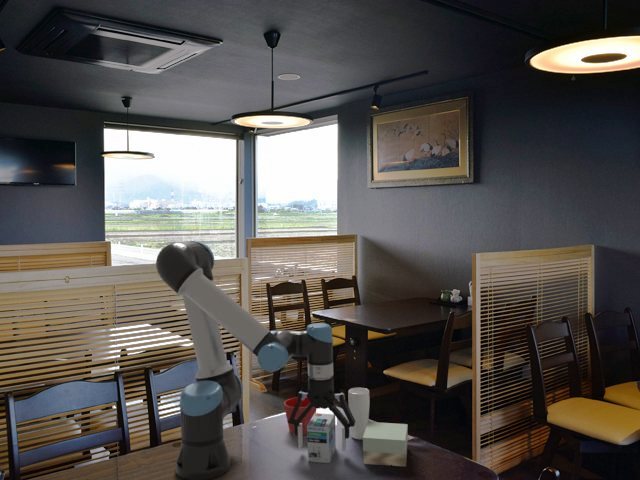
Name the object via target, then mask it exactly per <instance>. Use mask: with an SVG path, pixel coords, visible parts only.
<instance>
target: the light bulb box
mask: <svg viewBox="0 0 640 480" xmlns="http://www.w3.org/2000/svg"><path fill="white" fill-rule="evenodd" d="M306 435H307V438H306V439H307V461H311V462H310V463H322V464H323V463H324V464H330V463H331V461H332V458H333V456H334V454H335V452H336V449H337V445H336V444H337V443H336V442H337V441H336V440H337V439H336V416H335V415H334V414H333V413H318V412H316V413H314V415H313V417H312V418H311V420H310V422H309V423H308V425H307V434H306Z"/></svg>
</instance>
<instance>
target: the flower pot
mask: <svg viewBox="0 0 640 480" xmlns="http://www.w3.org/2000/svg"><path fill="white" fill-rule="evenodd" d="M297 398H298V396H297V397H291V398H289V399H286V400H284V403H283V406H284V411H285V412H284V413H285V415H286V416H285V417H286V420H287V421H286V422H287V426H288V430H289V433H291V434H292V435H295V429H294V425H293V424H289V423H288V420H289V418H290V416H291V414H292V411H293V409H294V407H295V405H296V402H297ZM309 403H310V401H309V400H308V398H307V397H305V399H304V400H302V402H301V404H300V407H299V409H298V411H297V413H296V416H295V418H294V419H297V418H298V417H299V416H300V414H301V413H302V412H303V411H304V410H305V408H306V407H307V406H308V405H309ZM314 413H317V408H315V407H312V408H311V410H310V411H309V412H308V413H307V414H306V416H305V417H304V418H303V419H302V421H301V422H300V423H302V436H305V435H307V425H308V423H309V422H310V420H311V418H312V417H313V415H314ZM300 423H299V424H300Z"/></svg>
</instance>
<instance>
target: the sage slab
mask: <svg viewBox="0 0 640 480" xmlns="http://www.w3.org/2000/svg"><path fill="white" fill-rule="evenodd" d="M408 427H409V426H408V423H407V424H406V423H390V422H377V421H368V423H367V427H366V430H365V433H364V436H363V439H362V452H363V451H366V452H379V453H393V454H406V446H407V447H408V431H409V430H408Z"/></svg>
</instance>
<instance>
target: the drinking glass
mask: <svg viewBox="0 0 640 480" xmlns="http://www.w3.org/2000/svg"><path fill="white" fill-rule="evenodd" d="M347 396H348V397H347V398H348V402H347V405H348V407H349V409H350V411H351V413H352V415H353V417H354V419H355V425H354V426H353V427H350V436H351V438H353V439H355V440H363V436H364V433H365V430H366V427H367V423H368V422H369V418H370V417H369V416H370V390H369V389H368V388H365V387H352V388H350V389H348V395H347Z"/></svg>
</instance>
